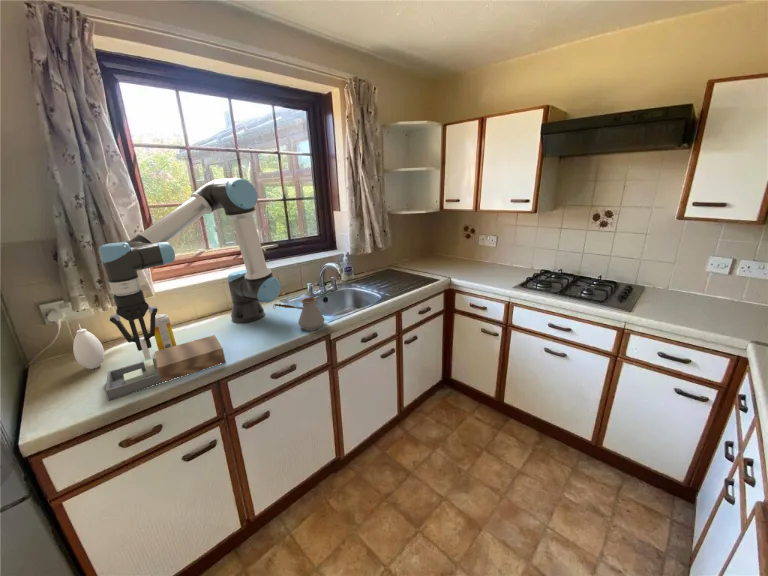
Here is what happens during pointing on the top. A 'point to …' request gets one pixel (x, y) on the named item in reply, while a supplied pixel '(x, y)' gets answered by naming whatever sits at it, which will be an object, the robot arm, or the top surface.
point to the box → (119, 388)
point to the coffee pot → (308, 314)
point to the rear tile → (150, 367)
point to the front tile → (133, 376)
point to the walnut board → (189, 358)
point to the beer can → (163, 332)
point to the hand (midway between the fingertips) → (147, 357)
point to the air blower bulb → (87, 349)
